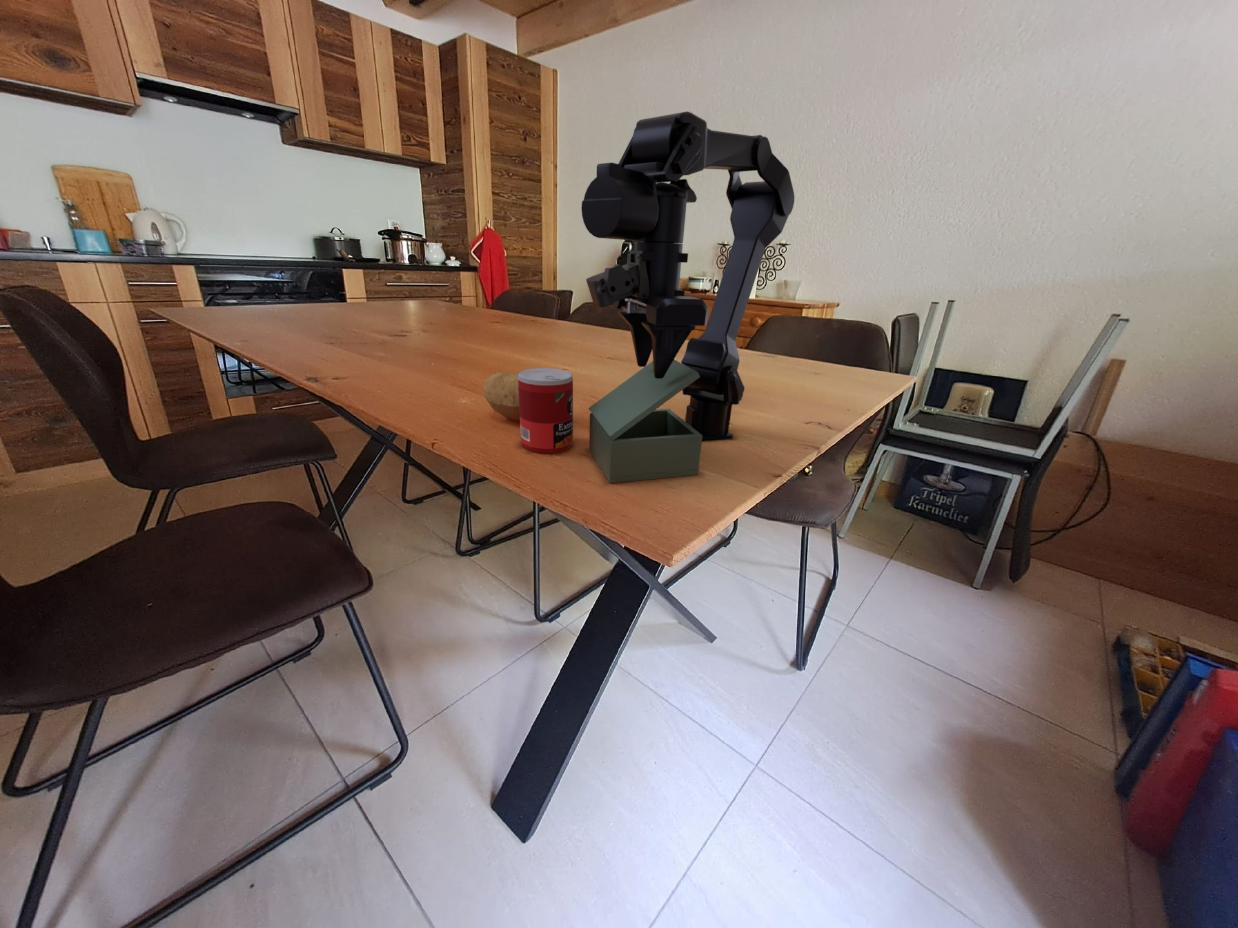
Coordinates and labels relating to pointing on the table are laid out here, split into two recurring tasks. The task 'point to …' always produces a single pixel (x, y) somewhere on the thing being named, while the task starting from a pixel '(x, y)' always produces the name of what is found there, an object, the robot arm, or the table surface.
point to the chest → (647, 448)
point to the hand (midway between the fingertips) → (649, 372)
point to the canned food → (546, 409)
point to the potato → (503, 394)
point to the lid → (640, 397)
